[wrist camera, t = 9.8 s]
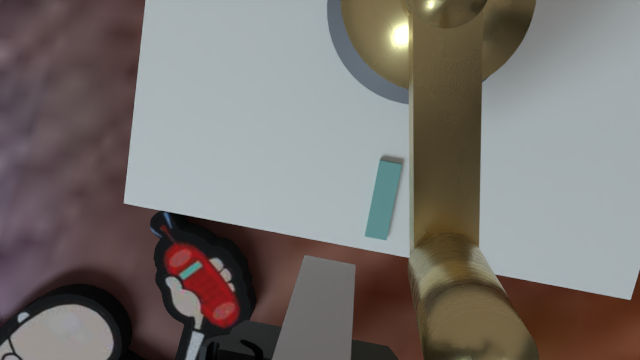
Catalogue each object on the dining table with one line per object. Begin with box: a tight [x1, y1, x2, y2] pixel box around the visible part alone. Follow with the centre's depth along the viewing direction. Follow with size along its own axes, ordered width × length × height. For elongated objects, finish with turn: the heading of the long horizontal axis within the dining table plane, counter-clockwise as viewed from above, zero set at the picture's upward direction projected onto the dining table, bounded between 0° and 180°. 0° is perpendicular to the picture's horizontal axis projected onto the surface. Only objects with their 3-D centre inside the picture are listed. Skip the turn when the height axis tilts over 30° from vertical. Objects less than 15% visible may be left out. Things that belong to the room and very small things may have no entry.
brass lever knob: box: [340, 0, 539, 360], centre depth 17 cm, size 13×6×11 cm, turn 2°
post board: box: [124, 0, 640, 300], centre depth 24 cm, size 24×22×5 cm
